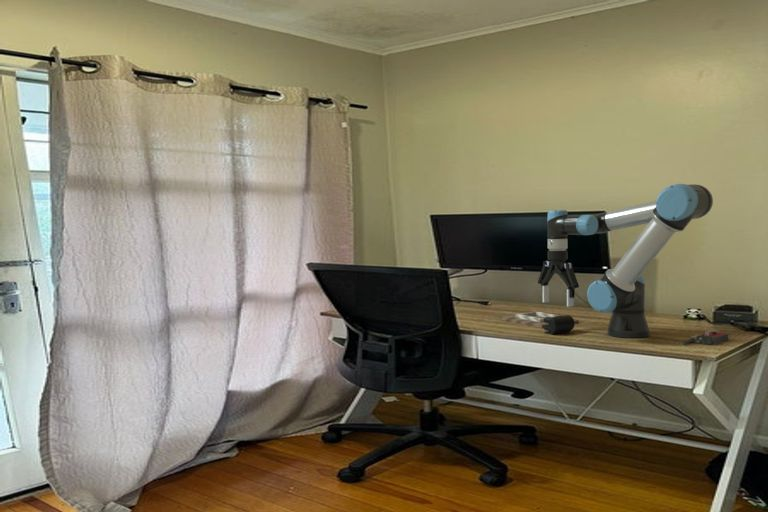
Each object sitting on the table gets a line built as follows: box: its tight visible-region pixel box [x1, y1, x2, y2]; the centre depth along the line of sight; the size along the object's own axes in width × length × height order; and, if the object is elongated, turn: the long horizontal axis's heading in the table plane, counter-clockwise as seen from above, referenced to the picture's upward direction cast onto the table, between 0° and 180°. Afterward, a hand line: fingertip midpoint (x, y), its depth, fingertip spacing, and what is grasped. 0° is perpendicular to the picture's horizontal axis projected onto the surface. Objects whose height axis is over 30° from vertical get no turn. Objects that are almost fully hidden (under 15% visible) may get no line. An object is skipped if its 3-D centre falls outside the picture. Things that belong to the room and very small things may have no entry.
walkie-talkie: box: [681, 329, 729, 346], centre depth 229 cm, size 9×4×20 cm
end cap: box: [543, 314, 576, 335], centre depth 256 cm, size 10×7×7 cm
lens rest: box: [499, 311, 580, 329], centre depth 284 cm, size 28×20×3 cm
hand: (557, 304), depth 255 cm, fingers open, 13 cm apart
